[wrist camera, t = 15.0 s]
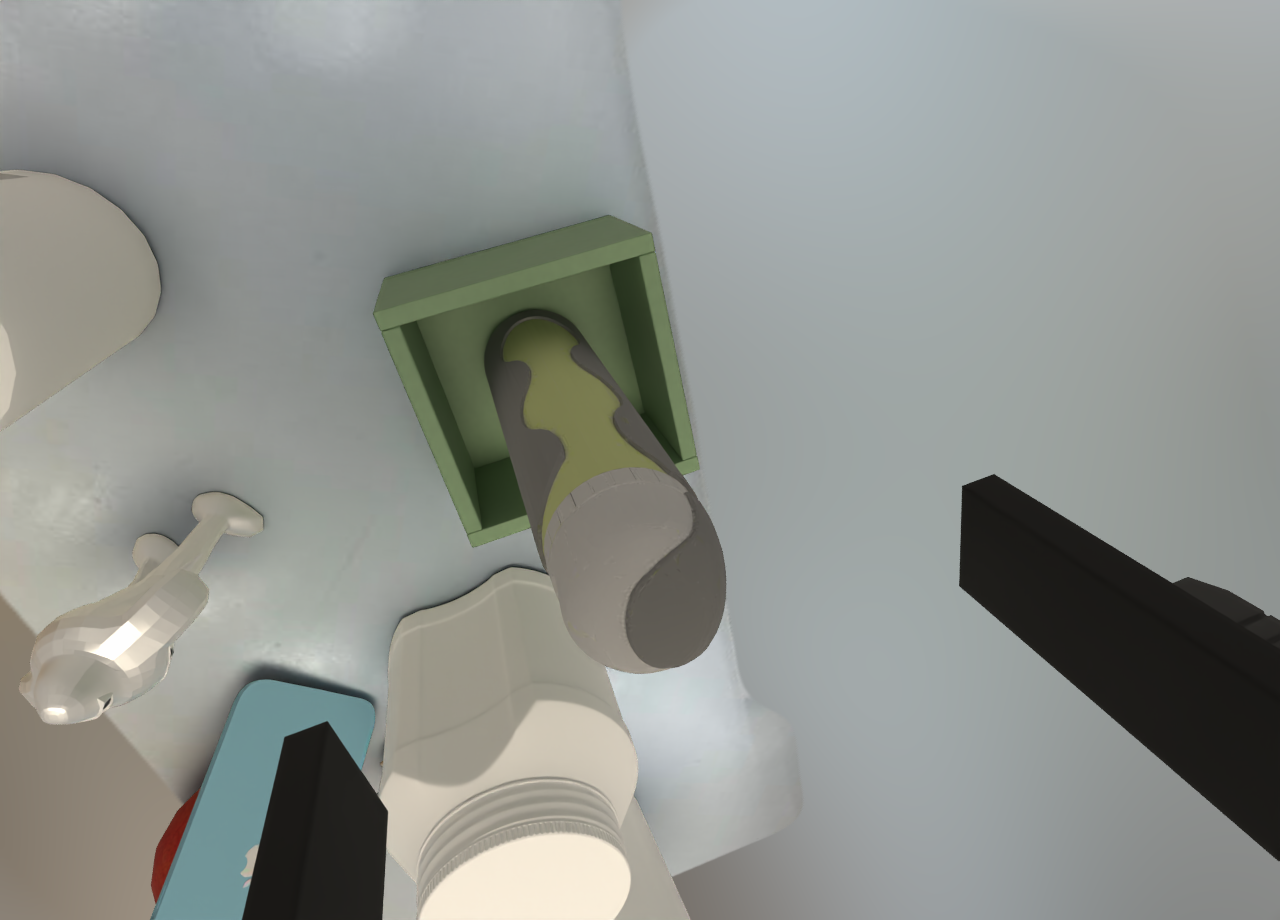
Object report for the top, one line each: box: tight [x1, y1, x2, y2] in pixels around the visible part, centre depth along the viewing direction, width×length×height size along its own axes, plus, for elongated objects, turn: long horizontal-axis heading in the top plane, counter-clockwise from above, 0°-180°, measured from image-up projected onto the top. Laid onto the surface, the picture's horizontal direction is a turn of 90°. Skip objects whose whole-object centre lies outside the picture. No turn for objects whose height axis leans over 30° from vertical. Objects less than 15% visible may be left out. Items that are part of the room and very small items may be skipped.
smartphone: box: [150, 679, 375, 920], centre depth 32 cm, size 7×1×15 cm
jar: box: [378, 567, 638, 920], centre depth 32 cm, size 12×10×15 cm
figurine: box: [19, 492, 263, 724], centre depth 26 cm, size 7×4×12 cm, turn 122°
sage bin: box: [373, 215, 700, 548], centre depth 29 cm, size 10×10×7 cm
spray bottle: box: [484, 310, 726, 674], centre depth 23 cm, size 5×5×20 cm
